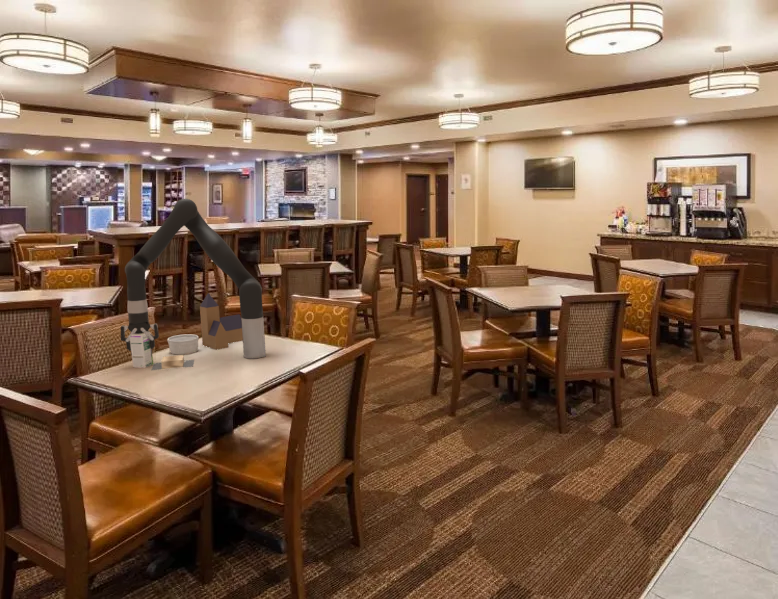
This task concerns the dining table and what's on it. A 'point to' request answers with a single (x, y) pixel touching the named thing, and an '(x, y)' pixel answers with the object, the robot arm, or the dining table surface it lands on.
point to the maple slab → (172, 361)
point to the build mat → (186, 364)
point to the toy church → (218, 326)
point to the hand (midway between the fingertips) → (141, 349)
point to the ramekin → (183, 344)
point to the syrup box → (141, 350)
